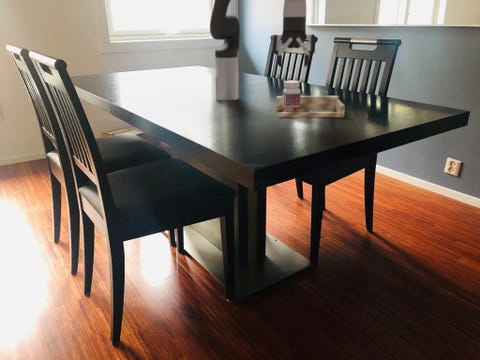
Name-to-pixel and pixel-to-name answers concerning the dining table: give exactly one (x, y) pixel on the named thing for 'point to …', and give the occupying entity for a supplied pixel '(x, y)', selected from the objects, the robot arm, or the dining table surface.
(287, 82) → the pill bottle
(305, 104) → the tray
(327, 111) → the front slot
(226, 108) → the dining table surface
